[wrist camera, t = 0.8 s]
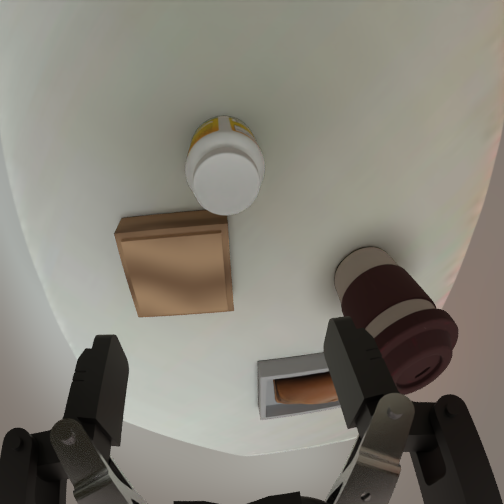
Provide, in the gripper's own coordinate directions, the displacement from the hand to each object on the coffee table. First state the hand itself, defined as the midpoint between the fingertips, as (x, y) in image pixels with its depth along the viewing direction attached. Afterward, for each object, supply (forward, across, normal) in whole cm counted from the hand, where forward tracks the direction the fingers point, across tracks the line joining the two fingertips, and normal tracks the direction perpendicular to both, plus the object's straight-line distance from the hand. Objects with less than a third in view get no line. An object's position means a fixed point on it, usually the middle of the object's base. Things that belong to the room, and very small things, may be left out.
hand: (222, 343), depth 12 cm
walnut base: (+19, +4, +9) cm, 22 cm away
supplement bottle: (+20, -1, -2) cm, 20 cm away
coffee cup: (+19, -16, +13) cm, 28 cm away
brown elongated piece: (+18, -15, +33) cm, 41 cm away
